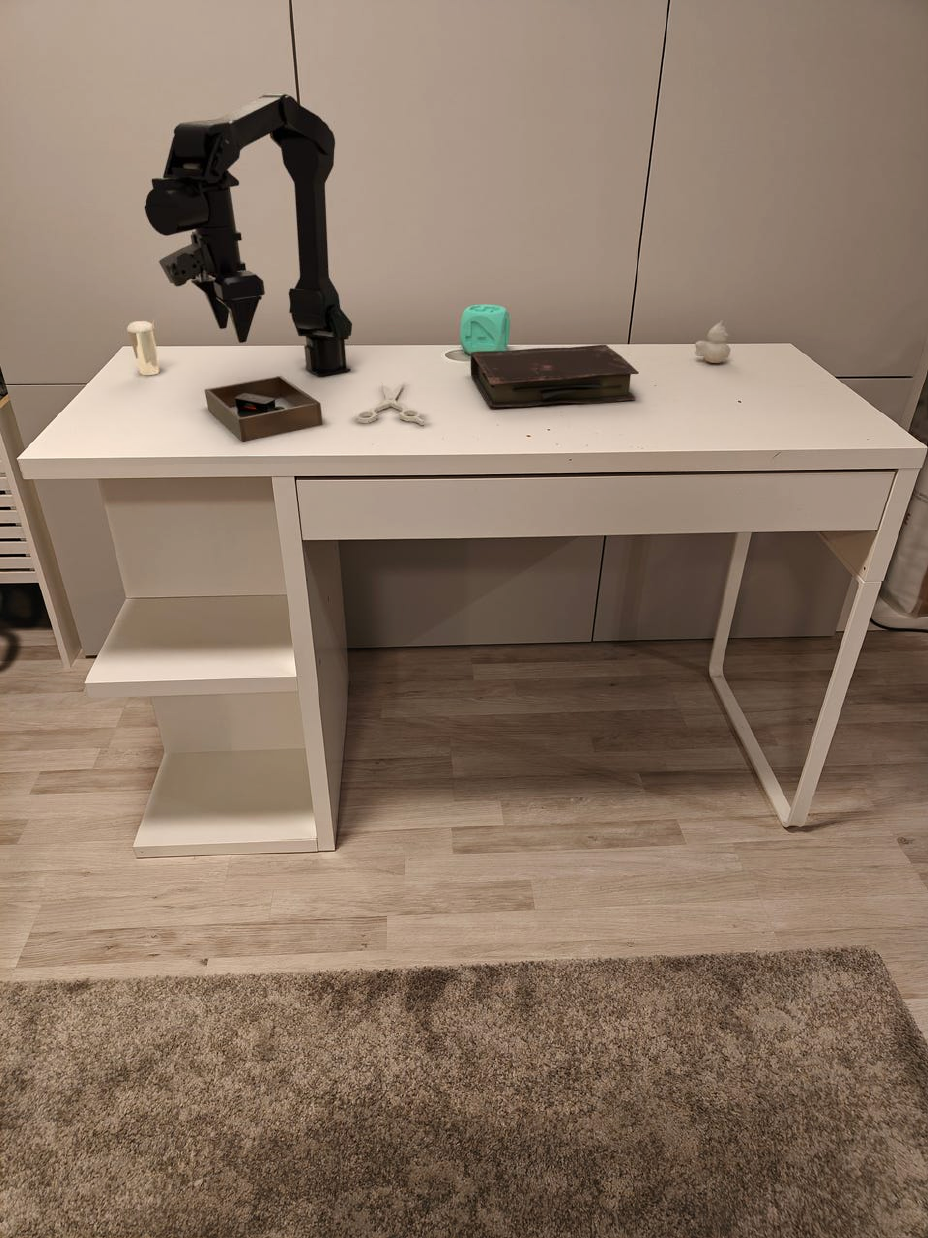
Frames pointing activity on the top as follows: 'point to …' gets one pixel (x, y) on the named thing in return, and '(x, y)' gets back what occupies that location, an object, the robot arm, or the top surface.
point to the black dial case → (255, 405)
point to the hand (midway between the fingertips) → (232, 335)
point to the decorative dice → (485, 328)
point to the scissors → (391, 402)
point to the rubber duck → (714, 345)
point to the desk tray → (266, 423)
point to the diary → (552, 376)
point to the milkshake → (144, 346)
